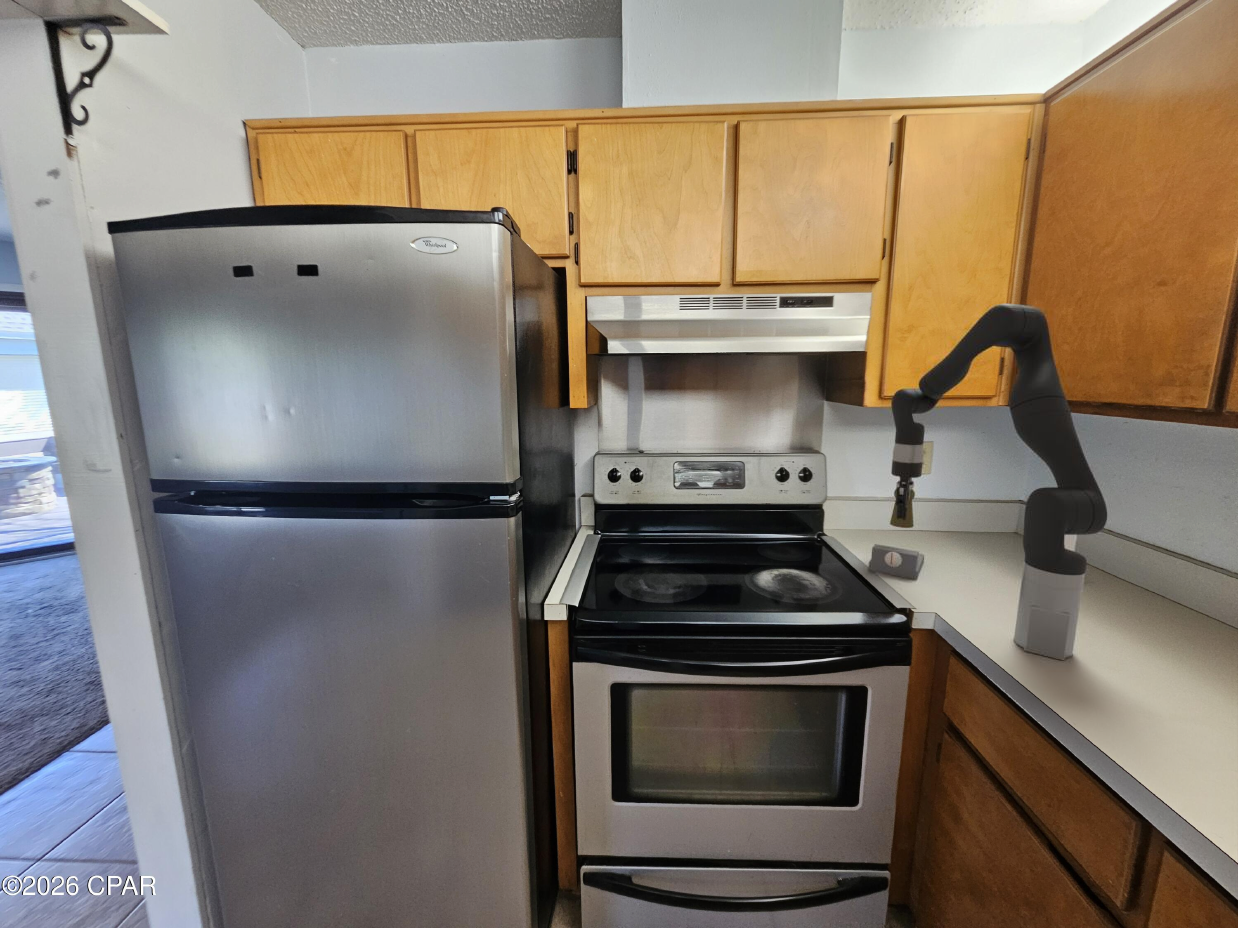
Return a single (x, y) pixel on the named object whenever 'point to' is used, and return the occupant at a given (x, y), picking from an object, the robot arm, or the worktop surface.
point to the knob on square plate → (896, 561)
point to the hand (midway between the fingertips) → (902, 517)
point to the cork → (909, 513)
